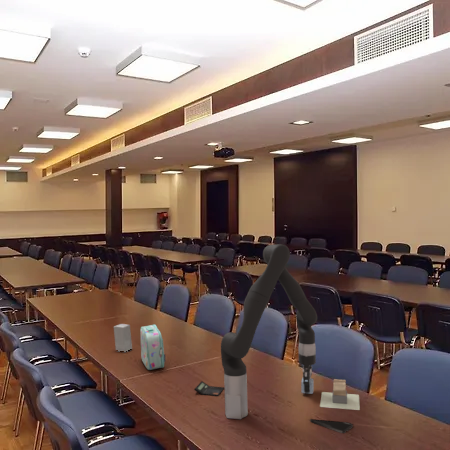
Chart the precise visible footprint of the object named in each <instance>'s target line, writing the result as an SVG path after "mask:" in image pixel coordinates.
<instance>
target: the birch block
mask: <svg viewBox="0 0 450 450" xmlns="http://www.w3.org/2000/svg"><path fill="white" fill-rule="evenodd" d="M346 382H347V381H346V379H336V378H334V379H333V384H332V385H333V389H332V390H334V395H340V396H346V391H347V386H346V385H347V383H346Z"/></svg>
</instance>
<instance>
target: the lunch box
mask: <svg viewBox="0 0 450 450" xmlns="http://www.w3.org/2000/svg"><path fill="white" fill-rule="evenodd" d="M139 333H140V334H139V335H140V351H141V352H140V355H141V361H142V363H143V365H144V366H145V368H146V369H147V370H148V371H151V370H156V369H162V368H164V367H165V362H166V353H165V349H164V347H165V346H164V339H163V337H162V336H163V335H162V333H161V331H160V330H159V328H158V326H157V325H156V324H150V325H145V326H141V327H140V332H139Z"/></svg>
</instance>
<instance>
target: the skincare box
mask: <svg viewBox="0 0 450 450" xmlns="http://www.w3.org/2000/svg"><path fill="white" fill-rule="evenodd" d="M113 334H114V344H115V346H114V347H115V351H116V350H118V351H117V352H120V351H124V352H123V353H127V352H129V351H128V350H130V349H132V350H133V344H132V343H133V342H132V334H131V325H130V324H125V323H119V324H117V325H114V326H113ZM126 351H127V352H126ZM130 351H131V350H130Z"/></svg>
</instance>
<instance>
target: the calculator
mask: <svg viewBox="0 0 450 450" xmlns="http://www.w3.org/2000/svg"><path fill="white" fill-rule="evenodd" d="M193 391H195V392H196V393H198V394H200V395H201V396H209V397H210V396H211V397H219V396H220V395H221V394H222V393H223V391H225V386H224V387H222V386H210V385H208V384H207V383H206V382H204V381H203V380H201V381H200V382H199V383H198V384H197V386H196V387H195V388H194V390H193Z"/></svg>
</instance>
